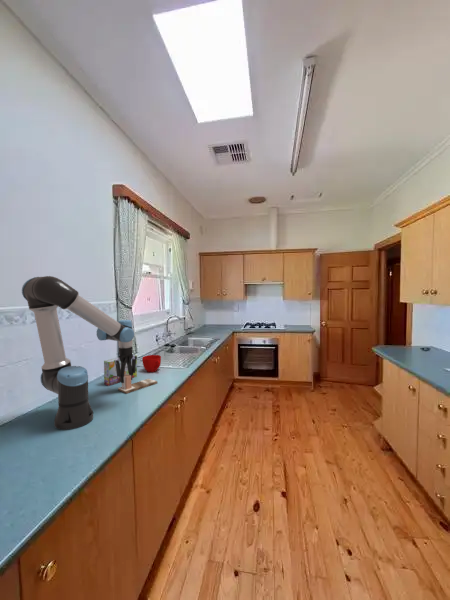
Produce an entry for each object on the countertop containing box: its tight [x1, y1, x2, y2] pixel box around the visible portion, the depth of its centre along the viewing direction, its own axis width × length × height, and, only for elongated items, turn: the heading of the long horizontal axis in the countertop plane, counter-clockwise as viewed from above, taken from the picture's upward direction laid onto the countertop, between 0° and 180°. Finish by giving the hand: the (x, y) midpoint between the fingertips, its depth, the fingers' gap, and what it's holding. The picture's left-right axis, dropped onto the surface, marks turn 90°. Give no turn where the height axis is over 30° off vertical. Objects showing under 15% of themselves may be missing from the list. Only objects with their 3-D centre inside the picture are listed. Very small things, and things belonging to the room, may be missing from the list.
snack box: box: [103, 353, 138, 387], centre depth 174 cm, size 21×6×15 cm, turn 148°
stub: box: [117, 374, 135, 392], centre depth 157 cm, size 6×8×7 cm
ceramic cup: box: [141, 354, 162, 373], centre depth 193 cm, size 13×17×10 cm
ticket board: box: [117, 378, 158, 395], centre depth 163 cm, size 21×9×2 cm, turn 141°
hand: (126, 387), depth 157 cm, fingers closed on stub, 3 cm apart
